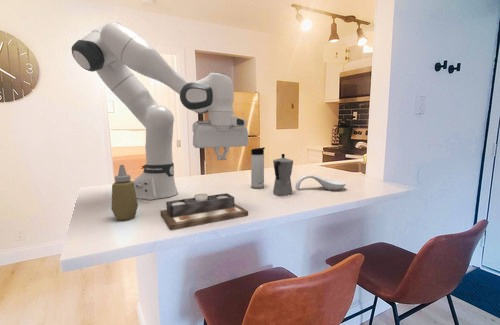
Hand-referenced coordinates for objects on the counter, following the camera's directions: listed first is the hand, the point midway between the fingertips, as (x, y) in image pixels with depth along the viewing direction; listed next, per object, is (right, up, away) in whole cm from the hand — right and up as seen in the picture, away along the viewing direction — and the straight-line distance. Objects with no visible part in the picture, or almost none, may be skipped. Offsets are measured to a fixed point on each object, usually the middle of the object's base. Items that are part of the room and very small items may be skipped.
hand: (221, 159), depth 95 cm
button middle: (-7, -15, -2) cm, 17 cm away
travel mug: (+14, -14, +36) cm, 41 cm away
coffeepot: (+25, -15, +24) cm, 38 cm away
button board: (-6, -19, -4) cm, 20 cm away
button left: (-14, -18, -6) cm, 23 cm away
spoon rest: (+44, -14, +32) cm, 57 cm away
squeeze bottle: (-32, -20, -6) cm, 38 cm away
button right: (0, -17, +2) cm, 17 cm away
